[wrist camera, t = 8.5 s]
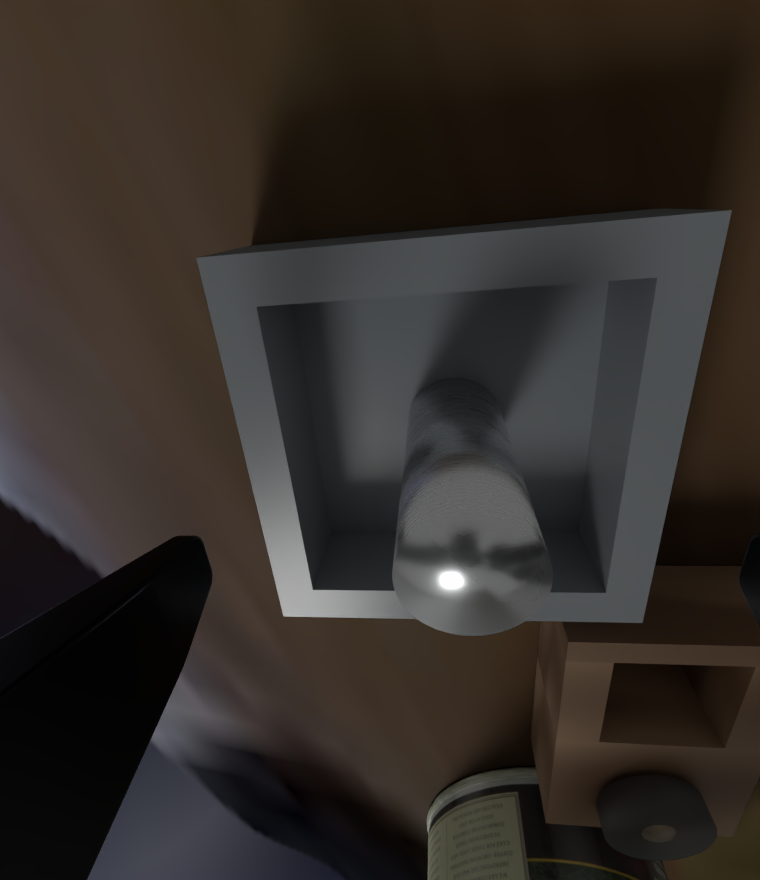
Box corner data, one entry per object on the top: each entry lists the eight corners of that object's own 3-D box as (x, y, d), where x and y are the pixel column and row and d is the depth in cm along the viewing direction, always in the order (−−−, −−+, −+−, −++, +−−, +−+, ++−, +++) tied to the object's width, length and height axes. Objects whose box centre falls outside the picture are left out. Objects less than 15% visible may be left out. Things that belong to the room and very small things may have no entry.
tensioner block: (689, 745, 18) (750, 875, 15) (530, 737, 19) (552, 858, 16) (748, 565, 14) (849, 684, 11) (544, 565, 15) (578, 675, 12)
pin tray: (604, 546, 15) (642, 622, 12) (309, 547, 16) (283, 616, 13) (656, 208, 11) (732, 209, 8) (250, 245, 12) (196, 257, 9)
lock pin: (500, 460, 13) (548, 636, 8) (410, 463, 13) (397, 634, 8) (502, 375, 12) (559, 513, 7) (404, 380, 12) (385, 516, 7)
